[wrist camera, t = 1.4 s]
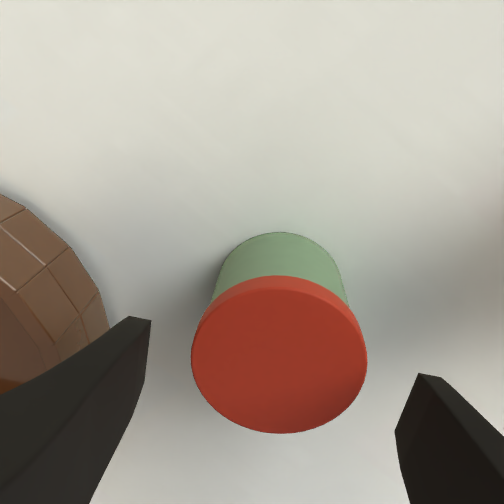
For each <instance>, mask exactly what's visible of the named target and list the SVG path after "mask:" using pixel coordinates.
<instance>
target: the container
mask: <svg viewBox="0 0 504 504" xmlns="http://www.w3.org/2000/svg"><path fill="white" fill-rule="evenodd" d="M191 368H192V372H193V376H194V379H195V382H196V384H197V387H198V388H199V390H200V392H201V394H202V395H203V396H204V398H205V399H206V400H207V402H208V403H209V404H210V405H211V406H212V407H213V408H214V409H215V410H216V411H217V412H219V413H220V414H221V415H222V416H224V417H226V418H227V419H229V420H230V421H232V422H234V423H236V424H238V425H240V426H243V427H246V428H249V429H252V430H256V431H260V432H266V433H277V434H286V433H296V432H302V431H306V430H310V429H314V428H316V427H319V426H321V425H324V424H326V423H327V422H329V421H331V420H333V419H334V418H336V417H337V416H339V415H340V414H341V413H342V412H344V411H345V410H346V409H347V408H348V407H349V406H350V405H351V403H352V402H353V401H354V400H355V398H356V397H357V395H358V393H359V392H360V390H361V387H362V385H363V383H364V380H365V376H366V372H367V351H366V347H365V342H364V339H363V336H362V332H361V329H360V327H359V324H358V321H357V320H356V318H355V316H354V314H353V313H352V311H351V310H350V309H349V305H348V301H347V298H346V294H345V290H344V287H343V283H342V279H341V276H340V273H339V270H338V267H337V265H336V264H335V262H334V260H333V259H332V258H331V256H330V255H329V254H328V253H327V252H326V251H325V250H324V249H323V248H322V247H321V246H319V245H318V244H317V243H315V242H313V241H311V240H310V239H307V238H305V237H303V236H300V235H296V234H291V233H279V232H275V233H267V234H263V235H259V236H256V237H253V238H251V239H249V240H247V241H245V242H243V243H242V244H241V245H239V246H238V247H237V248H236V249H235V250H233V251H232V252H231V254H230V255H229V256H228V257H227V259H226V260H225V262H224V264H223V265H222V268H221V270H220V273H219V276H218V280H217V283H216V286H215V289H214V293H213V296H212V299H211V302H210V305H209V307H208V308H207V309H206V311H205V312H204V314H203V316H202V317H201V320H200V322H199V324H198V327H197V330H196V333H195V336H194V340H193V344H192V348H191Z"/></svg>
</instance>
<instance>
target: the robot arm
mask: <svg viewBox="0 0 504 504" xmlns="http://www.w3.org/2000/svg"><path fill="white" fill-rule="evenodd" d="M151 321H152V320H147V319H141V318H136V317H131V316H128V317H127V318H125V319H123V320H122V321H121V322H119V323H118V324H116V325H115V326H114V327H112V328H111V329H110V330H108V331H107V332H106V333H104V334H103V335H101V336H100V337H99V338H97V339H96V340H94V341H93V342H91V343H90V344H88V345H87V346H85V347H84V348H83V349H81V350H80V351H78V352H77V353H75V354H74V355H72V356H71V357H69V358H67V359H66V360H64V361H62V362H61V363H59V364H57V365H56V366H54V367H52V368H51V369H49V370H48V371H46V372H44V373H42V374H41V375H39V376H37V377H35V378H33V379H31V380H30V381H28V382H26V383H24V384H22V385H20V386H18V387H15V388H13V389H11V390H9V391H7V392H5V393H3V394H1V395H0V504H89V503H90V501H91V498H92V496H93V494H94V492H95V490H96V488H97V486H98V484H99V482H100V480H101V478H102V476H103V474H104V472H105V470H106V468H107V466H108V464H109V462H110V460H111V458H112V456H113V454H114V452H115V450H116V448H117V446H118V444H119V442H120V440H121V438H122V436H123V434H124V432H125V430H126V428H127V426H128V424H129V422H130V420H131V418H132V415H133V413H134V410H135V407H136V404H137V402H138V399H139V396H140V393H141V390H142V387H143V385H144V381H145V372H146V363H147V355H148V346H149V338H150V329H151ZM395 438H396V445H397V452H398V458H399V464H400V469H401V473H402V477H403V480H404V484H405V487H406V491H407V494H408V498H409V501H410V504H504V436H503V435H502V434H500V433H499V432H498V431H497V430H496V429H495V428H494V427H493V426H492V425H491V424H490V423H489V422H488V421H487V420H486V419H485V418H484V417H483V416H482V415H481V414H480V413H479V412H478V411H477V410H476V409H475V408H474V407H473V406H472V405H470V404H469V403H468V402H467V401H466V400H465V399H464V398H463V397H462V396H461V395H460V394H459V393H458V392H457V391H456V390H455V389H454V388H453V387H452V386H451V385H449V384H448V383H447V382H446V381H445V380H444V379H442V378H441V377H437V376H431V375H426V374H421V373H418V375H417V378H416V380H415V383H414V385H413V387H412V390H411V392H410V395H409V397H408V400H407V402H406V404H405V407H404V409H403V412H402V414H401V416H400V419H399V421H398V424H397V426H396V429H395Z"/></svg>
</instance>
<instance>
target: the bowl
mask: <svg viewBox="0 0 504 504" xmlns="http://www.w3.org/2000/svg"><path fill="white" fill-rule="evenodd" d="M108 330H110V327H109V324H108V320H107V317H106V313H105V310H104V306H103V303H102V299H101V296H100V292H99V290H98V288H97V287H96V285H95V284H94V282H93V280H92V279H91V277H90V276H89V274H88V273H87V271H86V270H85V268H84V267H83V265H82V264H81V262H80V261H79V259H78V258H77V256H76V255H75V253H74V251H73V250H72V248H71V247H69V246H68V244H67V243H65V242H64V241H63V240H62V239H61V238H60V237H59V236H58V235H56V234H55V233H54V232H53V231H52V230H51V229H50V228H48V227H47V226H46V225H45V224H44V223H43V222H42V221H41V220H39V219H38V218H37V217H36V216H35V215H34V214H33V213H32V212H30V211H29V210H28V209H26V207H24V206H22V205H20V204H19V203H17V202H15V201H13V200H11V199H9V198H7V197H5V196H3V195H1V194H0V395H1V394H3V393H5V392H7V391H9V390H11V389H13V388H15V387H18V386H20V385H22V384H24V383H26V382H28V381H30V380H31V379H33V378H35V377H37V376H39V375H41V374H42V373H44V372H46V371H48V370H49V369H51V368H52V367H54V366H56V365H57V364H59V363H61V362H62V361H64V360H66V359H67V358H69V357H71V356H72V355H74V354H75V353H77V352H78V351H80V350H81V349H83V348H84V347H85V346H87V345H88V344H90V343H91V342H93V341H94V340H96V339H97V338H99V337H100V336H101V335H103V334H104V333H106V332H107V331H108Z"/></svg>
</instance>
